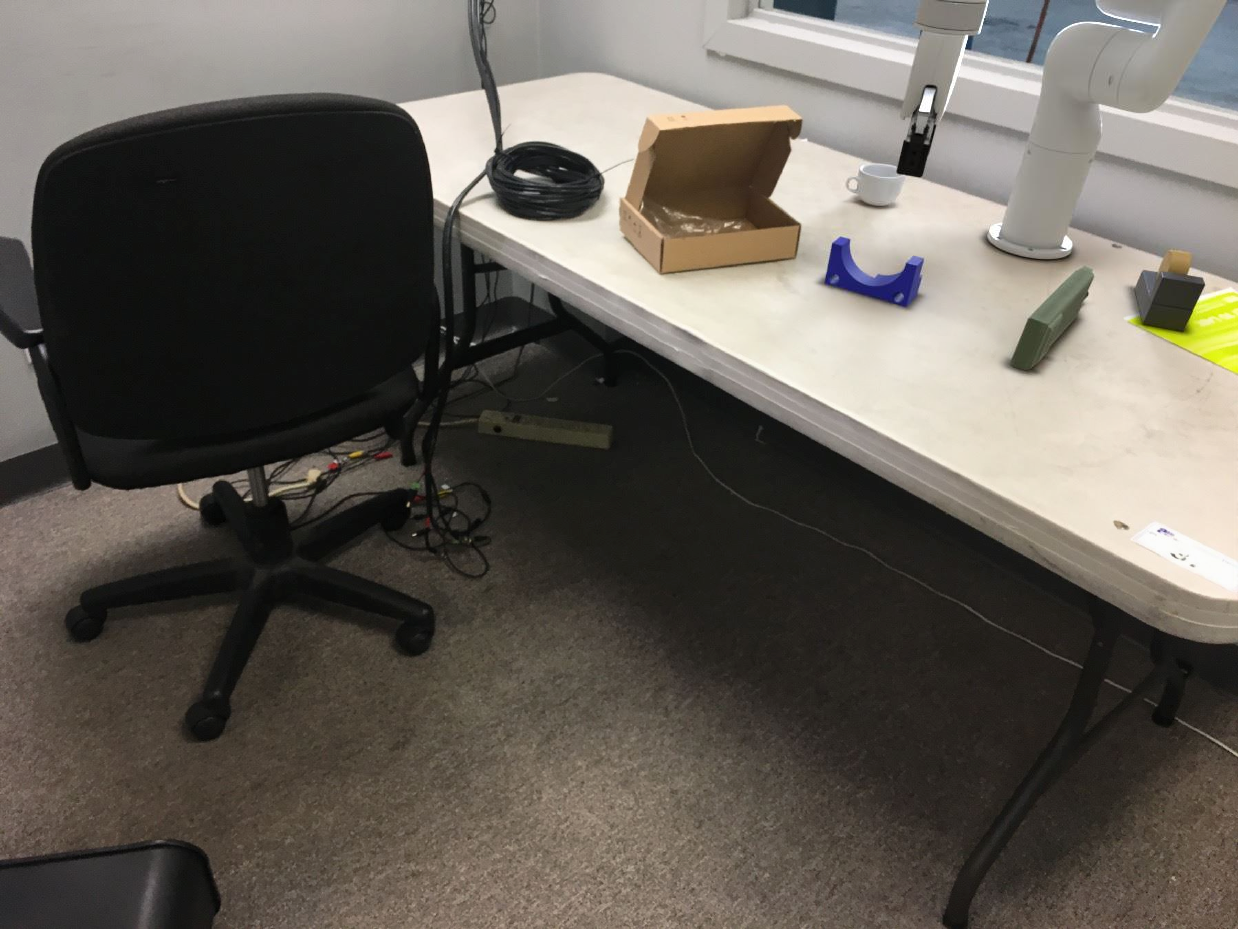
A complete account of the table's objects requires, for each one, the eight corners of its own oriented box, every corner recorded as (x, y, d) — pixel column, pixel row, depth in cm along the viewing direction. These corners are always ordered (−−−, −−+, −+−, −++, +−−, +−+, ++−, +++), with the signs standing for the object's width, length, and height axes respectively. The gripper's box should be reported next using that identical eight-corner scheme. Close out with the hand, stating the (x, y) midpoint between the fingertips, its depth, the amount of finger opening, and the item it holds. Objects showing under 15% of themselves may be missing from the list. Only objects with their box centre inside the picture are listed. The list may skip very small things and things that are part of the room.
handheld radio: (1005, 363, 106) (1067, 297, 122) (1031, 373, 105) (1091, 305, 120) (1024, 315, 102) (1086, 253, 118) (1052, 325, 100) (1111, 261, 116)
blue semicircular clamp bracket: (917, 295, 121) (927, 254, 117) (906, 306, 118) (917, 265, 114) (836, 272, 126) (844, 233, 122) (824, 283, 123) (832, 242, 119)
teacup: (888, 193, 154) (895, 162, 151) (906, 209, 148) (913, 177, 145) (835, 194, 153) (840, 163, 149) (850, 210, 147) (856, 178, 143)
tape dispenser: (1134, 288, 125) (1156, 235, 120) (1172, 295, 124) (1196, 242, 119) (1142, 324, 116) (1167, 268, 111) (1183, 331, 115) (1210, 275, 110)
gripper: (923, 2, 108) (890, 142, 118) (910, 23, 95) (874, 178, 105) (985, 9, 106) (947, 151, 116) (981, 31, 93) (938, 189, 103)
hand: (912, 164), depth 111 cm, fingers open, 9 cm apart
